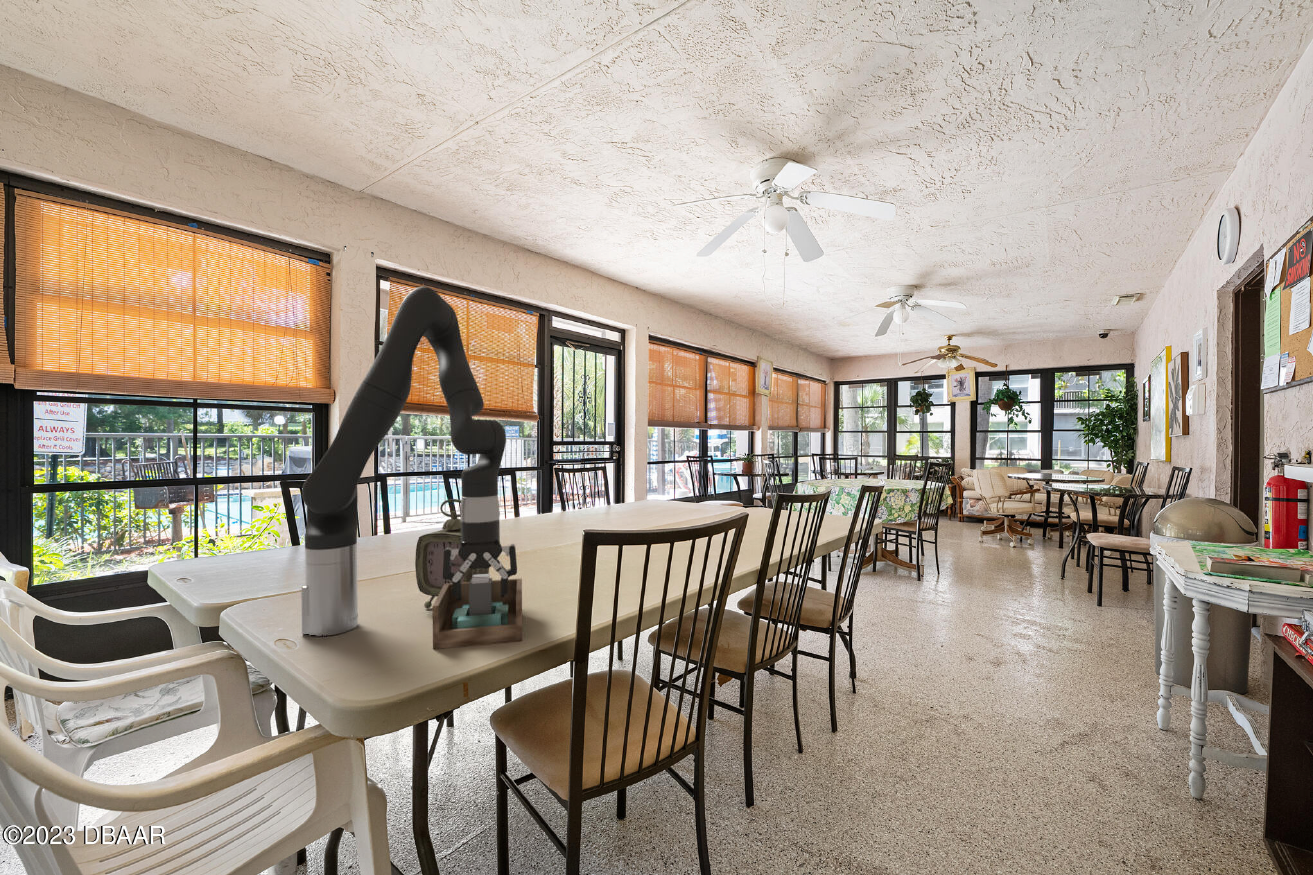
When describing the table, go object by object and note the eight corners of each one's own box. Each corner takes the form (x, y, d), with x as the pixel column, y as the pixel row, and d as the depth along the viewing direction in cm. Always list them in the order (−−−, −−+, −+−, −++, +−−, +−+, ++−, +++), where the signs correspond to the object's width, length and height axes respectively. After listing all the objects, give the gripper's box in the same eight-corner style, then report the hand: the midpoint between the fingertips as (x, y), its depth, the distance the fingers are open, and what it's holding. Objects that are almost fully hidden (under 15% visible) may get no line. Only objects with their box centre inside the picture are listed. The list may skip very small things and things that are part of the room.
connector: (469, 629, 109) (468, 579, 109) (471, 622, 113) (470, 574, 113) (491, 627, 110) (490, 578, 110) (492, 621, 114) (492, 572, 114)
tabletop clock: (415, 610, 125) (414, 500, 124) (440, 599, 133) (439, 496, 133) (472, 615, 121) (471, 501, 121) (494, 602, 130) (493, 497, 130)
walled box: (432, 649, 102) (432, 606, 102) (445, 620, 117) (444, 583, 117) (521, 640, 105) (521, 599, 105) (522, 614, 121) (521, 578, 121)
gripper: (440, 522, 106) (441, 606, 106) (516, 519, 109) (517, 600, 109) (445, 516, 113) (446, 595, 113) (516, 513, 117) (517, 590, 117)
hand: (481, 597), depth 111 cm, fingers open, 8 cm apart
